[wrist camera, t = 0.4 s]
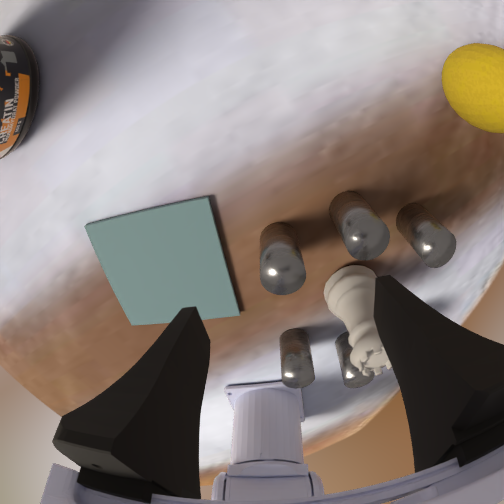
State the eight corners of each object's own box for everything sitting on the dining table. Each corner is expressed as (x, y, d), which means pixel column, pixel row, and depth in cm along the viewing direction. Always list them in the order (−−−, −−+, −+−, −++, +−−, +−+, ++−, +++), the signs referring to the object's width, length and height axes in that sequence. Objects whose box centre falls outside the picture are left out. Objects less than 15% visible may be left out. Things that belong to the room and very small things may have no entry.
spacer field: (408, 337, 26) (423, 371, 22) (283, 360, 27) (285, 399, 23) (427, 182, 18) (461, 206, 14) (252, 205, 20) (251, 236, 16)
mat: (240, 312, 24) (240, 315, 24) (133, 322, 25) (131, 325, 25) (208, 195, 19) (207, 197, 19) (86, 224, 20) (84, 226, 20)
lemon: (468, 45, 13) (546, 45, 6) (484, 116, 15) (561, 141, 8) (410, 49, 14) (488, 39, 7) (431, 127, 16) (509, 156, 9)
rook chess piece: (322, 264, 22) (346, 345, 15) (378, 258, 21) (420, 331, 15) (322, 310, 24) (340, 389, 17) (373, 303, 24) (403, 377, 17)
